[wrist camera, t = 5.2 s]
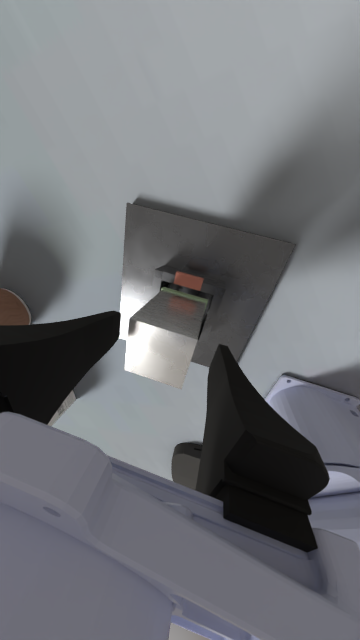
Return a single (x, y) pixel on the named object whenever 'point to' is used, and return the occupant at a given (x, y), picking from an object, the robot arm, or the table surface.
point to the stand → (200, 273)
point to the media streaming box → (186, 464)
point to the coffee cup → (13, 309)
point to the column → (164, 336)
